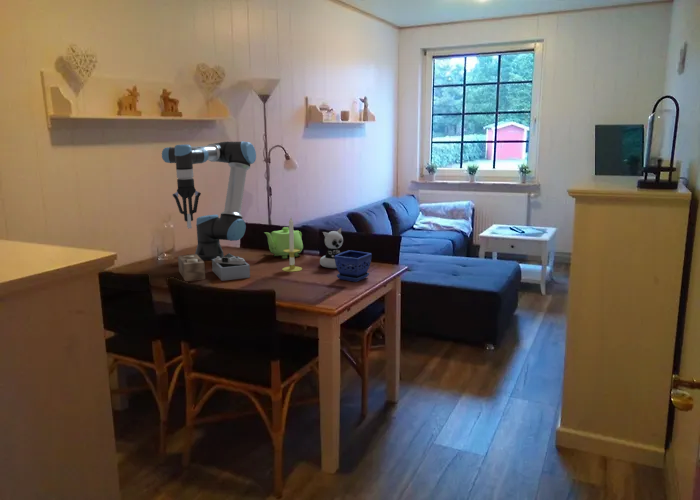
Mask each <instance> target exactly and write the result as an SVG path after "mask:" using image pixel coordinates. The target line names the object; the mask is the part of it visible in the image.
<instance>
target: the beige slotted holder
mask: <svg viewBox="0 0 700 500" xmlns="http://www.w3.org/2000/svg"><path fill="white" fill-rule="evenodd" d="M188 259H198V262H189V263H187V260H188ZM177 261H178V262H177V264H178V272H179V274H180V275H181V277H182V278H183V281H185V282H191V281H199V280H206V269H205V266H206V265H205V261H204V260H202V259H201V258H200V257H199V256H198V255H197V254H195V253H194V254H193V253H192V254H183V255H177Z"/></svg>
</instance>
